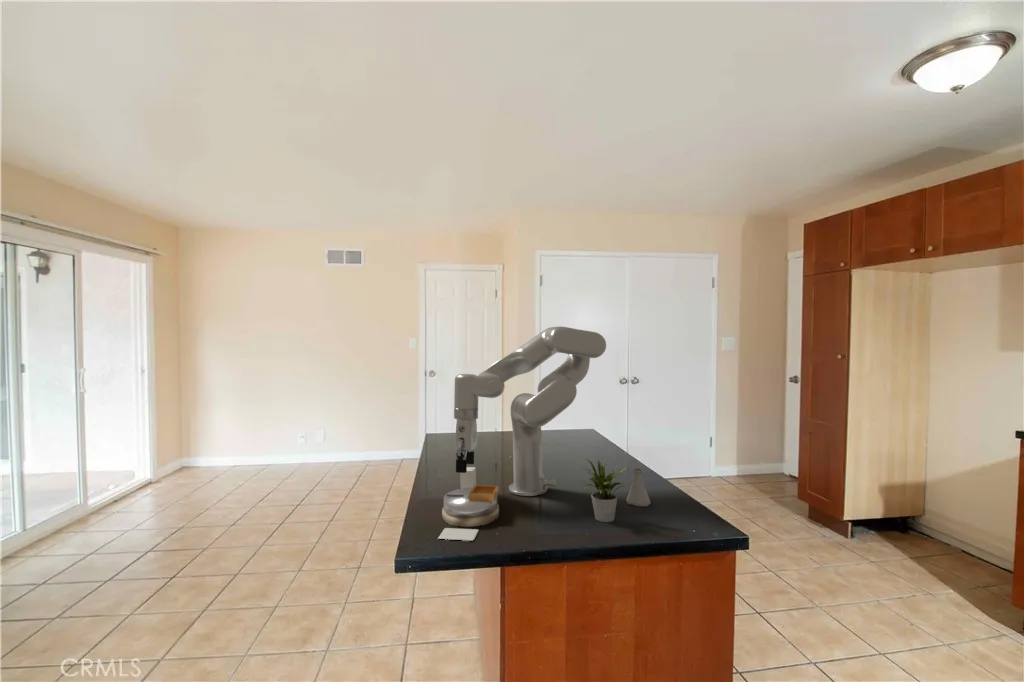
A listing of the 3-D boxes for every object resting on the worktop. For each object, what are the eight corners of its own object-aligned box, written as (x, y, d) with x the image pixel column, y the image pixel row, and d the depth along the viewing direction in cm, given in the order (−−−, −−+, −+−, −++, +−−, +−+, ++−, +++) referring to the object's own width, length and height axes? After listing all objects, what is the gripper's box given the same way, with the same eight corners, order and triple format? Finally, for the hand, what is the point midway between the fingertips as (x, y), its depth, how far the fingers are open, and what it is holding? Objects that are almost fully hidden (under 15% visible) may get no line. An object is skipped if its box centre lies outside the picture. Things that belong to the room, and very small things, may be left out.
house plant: (563, 515, 122) (562, 457, 122) (597, 503, 130) (596, 449, 130) (602, 533, 110) (601, 468, 110) (637, 519, 119) (636, 459, 119)
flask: (652, 500, 132) (652, 467, 132) (649, 509, 126) (648, 474, 126) (628, 497, 135) (627, 464, 135) (623, 505, 129) (623, 471, 129)
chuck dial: (436, 516, 117) (436, 497, 117) (452, 496, 132) (452, 480, 132) (491, 518, 115) (491, 499, 115) (501, 498, 130) (500, 481, 130)
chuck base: (503, 505, 130) (503, 498, 130) (493, 528, 114) (493, 520, 114) (451, 503, 132) (451, 496, 132) (434, 525, 117) (434, 518, 117)
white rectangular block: (476, 495, 139) (475, 467, 139) (473, 500, 135) (472, 471, 135) (463, 495, 140) (463, 467, 140) (460, 499, 136) (460, 470, 136)
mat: (478, 531, 113) (478, 529, 113) (473, 541, 107) (473, 540, 107) (444, 529, 114) (444, 528, 114) (437, 539, 108) (437, 538, 108)
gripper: (471, 418, 128) (470, 476, 128) (483, 410, 145) (482, 461, 145) (446, 417, 129) (445, 475, 129) (461, 409, 146) (460, 460, 146)
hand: (465, 468), depth 137 cm, fingers open, 9 cm apart
